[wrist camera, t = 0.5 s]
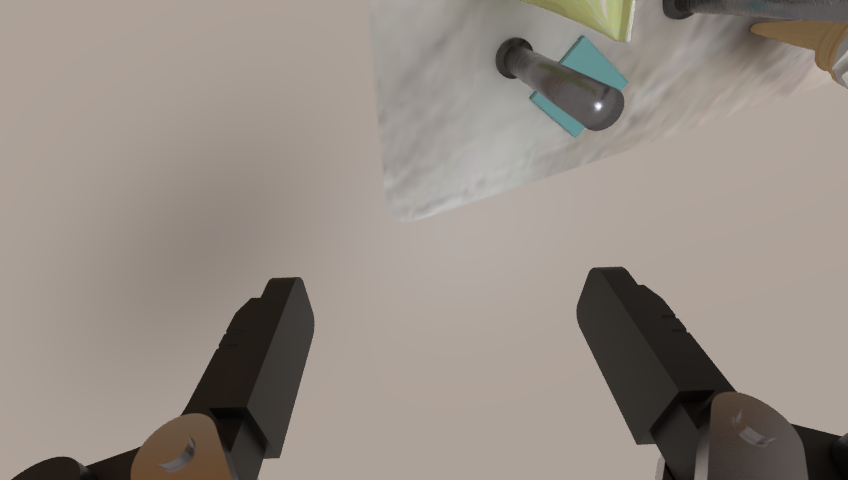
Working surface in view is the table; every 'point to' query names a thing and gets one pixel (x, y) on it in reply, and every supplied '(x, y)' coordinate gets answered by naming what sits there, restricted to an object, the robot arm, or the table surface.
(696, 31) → the table surface
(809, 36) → the ice cream cone
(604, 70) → the pad
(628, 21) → the tube
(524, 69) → the wire posts
